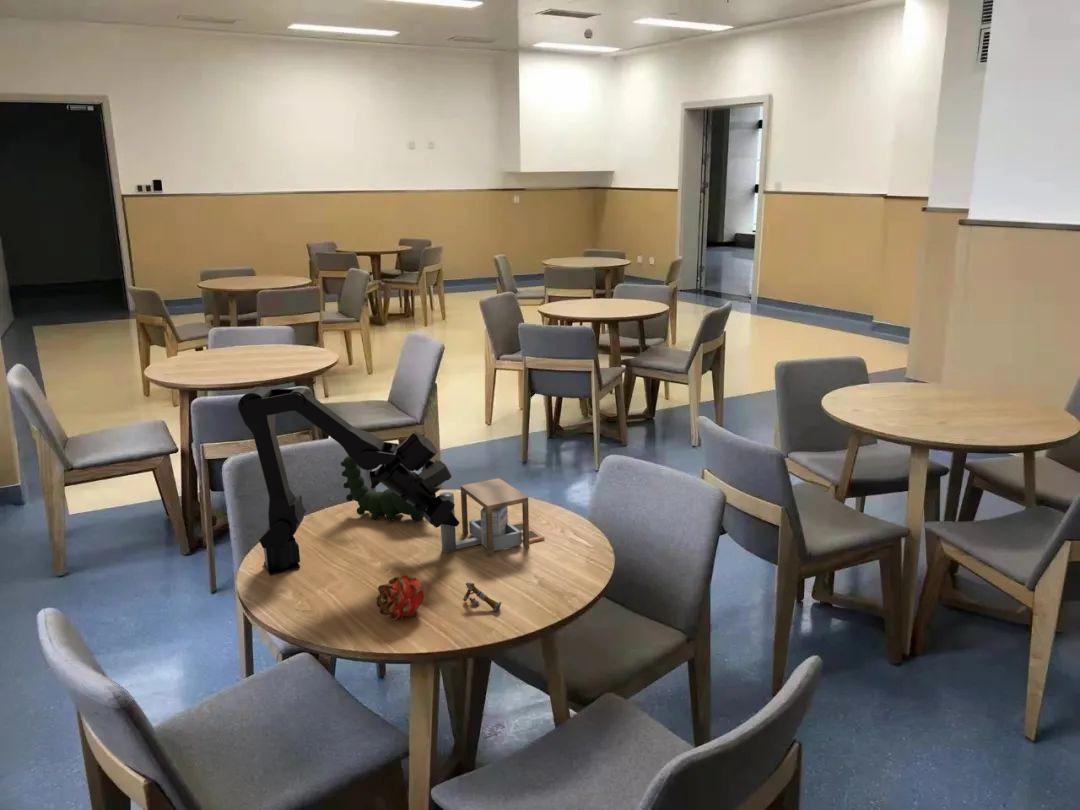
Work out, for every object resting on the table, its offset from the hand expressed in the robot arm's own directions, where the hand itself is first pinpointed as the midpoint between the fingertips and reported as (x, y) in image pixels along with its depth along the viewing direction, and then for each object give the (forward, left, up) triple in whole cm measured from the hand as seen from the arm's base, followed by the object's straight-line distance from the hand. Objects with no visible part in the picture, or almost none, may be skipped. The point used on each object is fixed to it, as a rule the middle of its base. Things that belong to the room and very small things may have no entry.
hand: (453, 520), depth 182 cm
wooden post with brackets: (-6, -27, -7) cm, 29 cm away
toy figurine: (-6, +25, -7) cm, 27 cm away
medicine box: (+10, 0, -7) cm, 12 cm away
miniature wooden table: (+10, 0, -7) cm, 12 cm away
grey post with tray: (+5, 0, -7) cm, 9 cm away
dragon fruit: (-20, -22, -7) cm, 30 cm away
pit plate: (+18, 0, -7) cm, 19 cm away
